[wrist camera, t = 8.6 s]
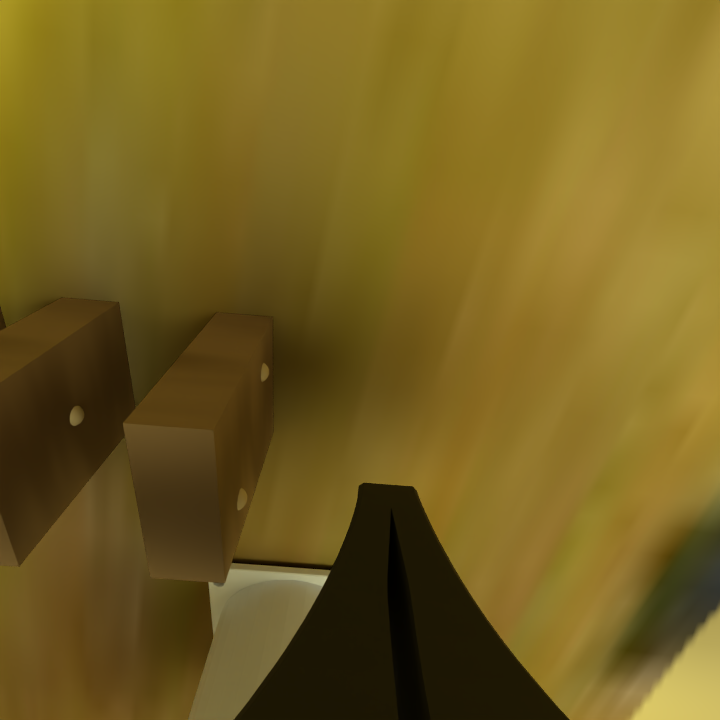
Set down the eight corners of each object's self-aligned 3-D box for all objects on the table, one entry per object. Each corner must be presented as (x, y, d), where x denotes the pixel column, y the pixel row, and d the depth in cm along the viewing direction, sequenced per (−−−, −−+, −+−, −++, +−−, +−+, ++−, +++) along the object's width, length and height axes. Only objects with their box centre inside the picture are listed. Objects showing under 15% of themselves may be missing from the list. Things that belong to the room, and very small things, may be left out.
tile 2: (142, 420, 19) (26, 567, 12) (87, 416, 19) (-57, 561, 12) (124, 302, 16) (-28, 408, 10) (61, 297, 16) (-130, 400, 10)
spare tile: (278, 432, 19) (232, 583, 12) (224, 428, 19) (150, 578, 12) (278, 317, 17) (222, 431, 10) (216, 312, 16) (122, 423, 10)
